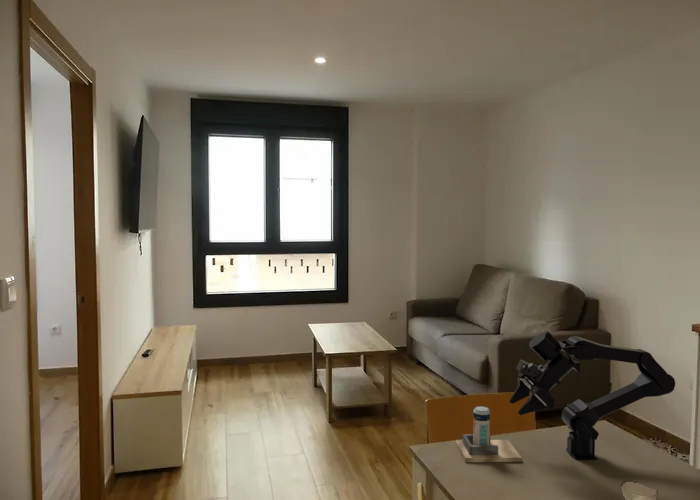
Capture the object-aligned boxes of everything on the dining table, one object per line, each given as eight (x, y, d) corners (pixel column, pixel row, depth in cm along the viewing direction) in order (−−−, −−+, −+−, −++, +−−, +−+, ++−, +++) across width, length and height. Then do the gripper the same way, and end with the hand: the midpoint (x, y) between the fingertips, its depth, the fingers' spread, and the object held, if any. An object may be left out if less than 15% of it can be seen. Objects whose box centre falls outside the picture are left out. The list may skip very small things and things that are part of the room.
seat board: (507, 443, 158) (507, 431, 157) (521, 461, 146) (521, 448, 145) (455, 444, 157) (455, 432, 157) (465, 462, 145) (465, 449, 145)
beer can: (480, 443, 155) (481, 404, 154) (493, 449, 151) (493, 409, 150) (469, 447, 152) (469, 407, 151) (481, 453, 148) (482, 412, 148)
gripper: (524, 343, 158) (488, 378, 159) (544, 359, 140) (502, 399, 141) (550, 369, 158) (513, 404, 159) (573, 389, 140) (531, 428, 141)
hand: (514, 408), depth 150 cm, fingers open, 9 cm apart
